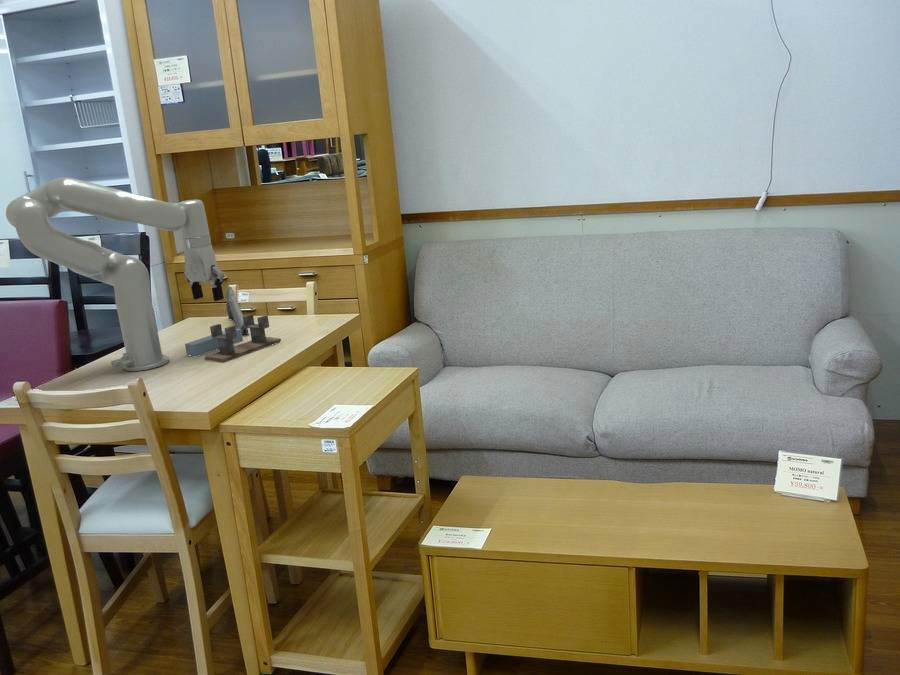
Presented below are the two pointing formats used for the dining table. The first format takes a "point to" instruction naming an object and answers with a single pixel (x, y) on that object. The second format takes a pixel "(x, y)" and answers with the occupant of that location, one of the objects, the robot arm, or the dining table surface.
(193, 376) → the dining table surface
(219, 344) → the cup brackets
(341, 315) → the dining table surface
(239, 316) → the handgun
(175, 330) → the dining table surface
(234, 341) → the rail
